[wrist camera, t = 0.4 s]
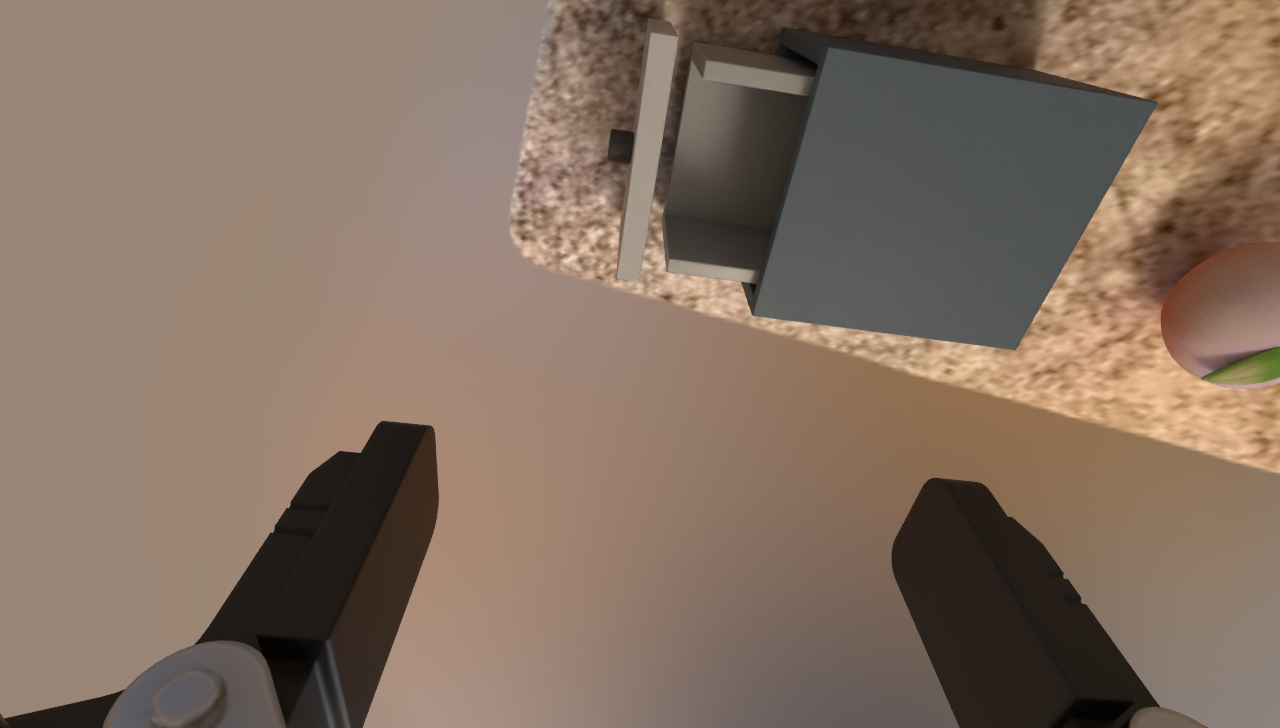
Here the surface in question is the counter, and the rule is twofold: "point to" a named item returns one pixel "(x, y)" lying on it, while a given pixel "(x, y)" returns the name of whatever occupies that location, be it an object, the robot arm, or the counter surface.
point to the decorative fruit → (1228, 318)
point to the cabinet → (935, 191)
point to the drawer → (710, 156)
